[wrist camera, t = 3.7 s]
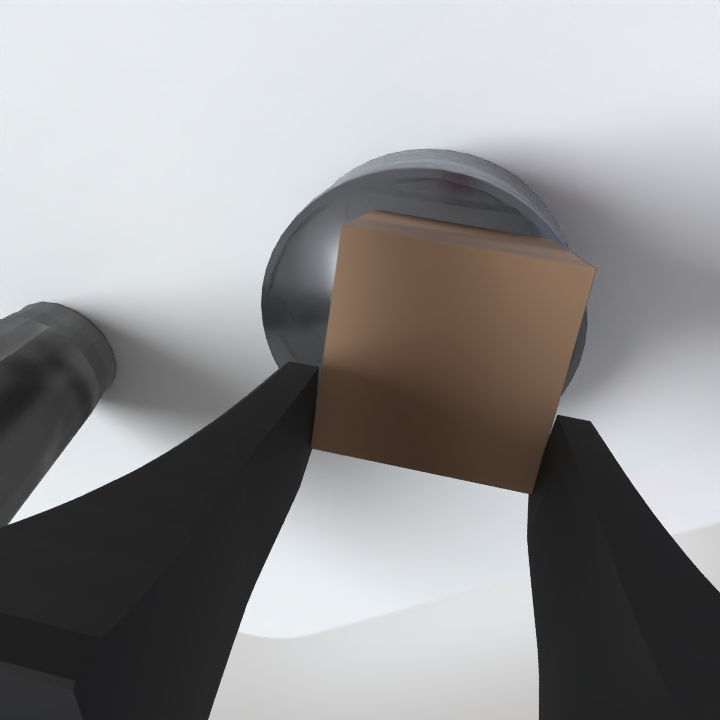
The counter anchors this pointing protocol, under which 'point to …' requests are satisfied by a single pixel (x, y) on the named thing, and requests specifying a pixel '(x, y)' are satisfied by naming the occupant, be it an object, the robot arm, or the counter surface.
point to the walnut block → (448, 347)
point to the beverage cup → (45, 392)
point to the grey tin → (398, 195)
